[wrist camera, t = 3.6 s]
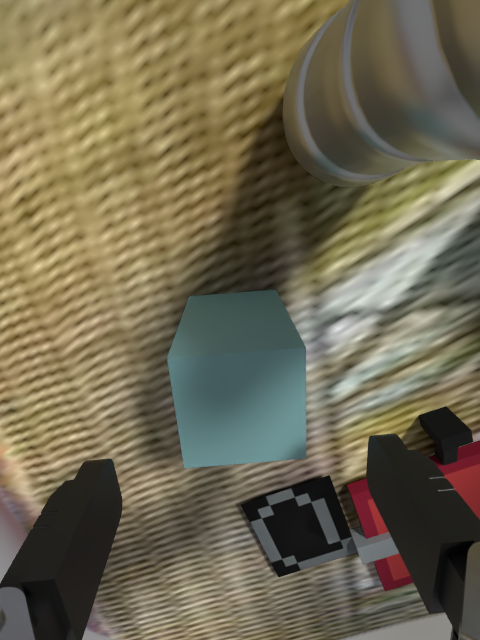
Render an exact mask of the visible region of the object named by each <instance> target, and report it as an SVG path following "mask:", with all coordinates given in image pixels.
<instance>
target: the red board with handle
mask: <svg viewBox="0 0 480 640" xmlns="http://www.w3.org/2000/svg"><path fill="white" fill-rule="evenodd" d="M419 419H420V423H421V426H422V428H423V429H424V430H425V431H426V432H427V433H428V435H429V436H430V437H431V438H432V439H433V440H434V442H435V456H432V457H429V459H431V460H432V461H433V462H434V463H435V464H436V465H437V467H438V468H439V469H440V470H441V472H442V473H443V474H444V475H445V478H446V479H448V480H449V482H450V483H451V484H452V486H453V487H454V490H455V491H457V492H458V493H459V494H460V496H461V497H462V498H463V499H464V501H465V502H466V503H467V504H468V506H469V507H470V508H471V510H472V511H473V512H474V513H475V515H476V516H477V517H478V518H479V520H480V441H478V442H474V443H471V442H473V438H472V432H471V430H470V429H469V428H468V427H467V426H466V425H465V424H464V423H463V422H462V421H461V420H460V419H459V418H458V417H457V416H456V415H455V414H454V413H453V412H452V411H451V410H449V409H448V408H447V407H443V408H440V409H437V410H433V411H430V412H427V413H424V414H421V415H419ZM468 443H471V444H468ZM465 444H468V445H465ZM462 445H465V446H462ZM459 446H462V447H459ZM458 447H459V448H458ZM347 487H348V490H349V493H350V495H351V498H352V501H353V504H354V507H355V510H356V512H357V515H358V518H359V521H360V524H361V527H358V528H354V529H351V530H350V529H349V527H348V524H347V521H346V519H345V516H344V513H343V511H342V508H341V505H340V502H339V500H338V497H337V494H336V492H335V489H334V486H333V484H332V481H331V478H330V476H326V477H323V478H320V479H317V480H314V481H311V482H308V483H305V484H302V485H299V486H296V487H293V488H290V489H287V490H284V491H281V492H278V493H275V494H272V495H269V496H266V497H263V498H260V499H257V500H254V501H251V502H248V503H245V504H242V505H241V506H242V508H243V510H244V512H245V514H246V516H247V518H248V520H249V522H250V524H251V525H252V527H253V529H254V531H255V533H256V535H257V537H258V539H259V541H260V543H261V545H262V547H263V548H264V550H265V552H266V554H267V556H268V558H269V560H270V562H271V564H272V566H273V568H274V570H275V571H276V573H277V575H278V577H281V576H284V575H288V574H291V573H294V572H297V571H300V570H304V569H307V568H310V567H313V566H316V565H319V564H323V563H326V562H329V561H332V560H335V559H339V558H342V557H345V556H348V555H351V554H355V553H359V556H360V559H361V561H362V564H366V563H370V562H373V561H374V563H375V566H376V569H377V572H378V575H379V577H380V580H381V583H382V585H383V587H384V590H385V591H387V590H390V589H394V588H397V587H400V586H404V585H407V584H410V583H413V580H412V578H411V576H410V574H409V572H408V570H407V568H406V566H405V564H404V562H403V560H402V558H401V556H400V553H399V551H398V549H397V547H396V545H395V543H394V541H393V539H392V537H391V535H390V533H389V531H388V529H387V527H386V525H385V523H384V521H383V519H382V517H381V515H380V513H379V511H378V509H377V507H376V505H375V503H374V501H373V499H372V497H371V494H370V492H369V488H368V484H367V478H365V479H362V480H359V481H356V482H353V483H350V484H347Z"/></svg>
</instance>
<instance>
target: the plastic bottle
mask: <svg viewBox="0 0 480 640" xmlns="http://www.w3.org/2000/svg"><path fill="white" fill-rule="evenodd" d="M283 124H284V131H285V137H286V140H287V142H288V145H289V148H290V150H291V152H292V154H293V155H294V157H295V159H296V160H297V161H298V163H299V164H300V165H301V166H302V167H303V168H304V169H305V170H306V171H307V172H308V173H310V174H311V175H313V176H314V177H316V178H317V179H319V180H320V181H323V182H325V183H328V184H330V185H334V186H340V187H361V186H364V185H368V184H372V183H375V182H378V181H380V180H383V179H385V178H388V177H390V176H392V175H394V174H396V173H398V172H400V171H402V170H403V169H405V168H407V167H410V166H414V165H417V164H420V163H423V162H427V161H444V160H463V159H475V160H480V0H350V1H349V2H348V3H347V5H346V6H344V7H343V8H342V9H340V10H339V11H338V12H337V13H335V14H334V15H333V16H332V17H331V18H329V19H328V20H327V21H326V22H325V23H324V24H323V25H322V26H321V27H320V28H319V29H318V30H317V31H316V32H315V33H314V34H313V36H312V37H311V38H310V39H309V40H308V42H307V43H306V44H305V45H304V46H303V48H302V49H301V51H300V53H299V55H298V56H297V58H296V60H295V62H294V63H293V66H292V68H291V71H290V74H289V76H288V79H287V82H286V87H285V92H284V97H283Z"/></svg>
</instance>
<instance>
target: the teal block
mask: <svg viewBox="0 0 480 640" xmlns="http://www.w3.org/2000/svg"><path fill="white" fill-rule="evenodd" d="M167 362H168V369H169V375H170V381H171V387H172V394H173V400H174V406H175V413H176V419H177V425H178V432H179V438H180V444H181V451H182V457H183V463H184V468H195V467H207V466H219V465H231V464H243V463H255V462H267V461H279V460H291V459H303V458H306V347H305V345H304V343H303V341H302V339H301V337H300V335H299V333H298V331H297V330H296V328H295V326H294V324H293V322H292V320H291V318H290V316H289V314H288V312H287V310H286V308H285V306H284V304H283V302H282V300H281V298H280V296H279V294H278V293H277V291H276V290H263V291H250V292H237V293H224V294H211V295H198V296H189V298H188V301H187V304H186V307H185V309H184V312H183V315H182V318H181V321H180V323H179V326H178V329H177V332H176V334H175V337H174V340H173V343H172V346H171V348H170V351H169V354H168V357H167Z"/></svg>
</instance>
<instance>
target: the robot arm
mask: <svg viewBox="0 0 480 640" xmlns="http://www.w3.org/2000/svg"><path fill="white" fill-rule="evenodd" d="M366 476H367V484H368V488H369V492H370V494H371V497H372V499H373V501H374V503H375V505H376V507H377V509H378V511H379V513H380V515H381V517H382V519H383V521H384V523H385V525H386V527H387V529H388V531H389V533H390V535H391V537H392V539H393V541H394V543H395V545H396V547H397V549H398V551H399V553H400V556H401V558H402V560H403V562H404V564H405V566H406V568H407V570H408V572H409V574H410V576H411V578H412V580H413V582H414V584H415V586H416V588H417V590H418V592H419V594H420V596H421V598H422V600H423V602H424V604H425V606H426V608H427V610H428V612H429V614H431V613H441V612H445V613H446V615H447V617H448V619H449V620H450V622H451V624H452V631H451V638H450V640H480V520H479V518H478V517H477V516H476V515H475V513H474V512H473V511H472V510H471V508H470V507H469V506H468V504H467V503H466V502H465V501H464V499H463V498H462V497H461V496H460V494H459V493H458V492H457V491H455V490H454V487H453V486H452V484H451V483H450V482H449V480H448V479H446V478H445V475H444V474H443V473H442V472H441V470H440V469H439V468H438V467H437V465H436V464H435V463H434V462H433V461H432V460H431V459H429V458H428V457H427V456H425V455H424V454H422V453H421V452H420V451H418V450H417V449H416V450H408V449H407V447H406V446H405V445H404V443H403V442H402V441H401V439H400V438H399V437H398V435H396V434H385V435H374V436H370V437H369V442H368V457H367V472H366ZM121 513H122V496H121V491H120V487H119V483H118V479H117V475H116V471H115V467H114V463H113V461H112V460H111V459H101V460H90V461H85V462H84V463H83V464H82V466H81V468H80V469H79V471H78V473H77V475H76V477H75V479H74V480H69V481H65V482H64V483H63V484H62V485H61V486H60V487H59V488H58V489H57V490H56V491H55V492H54V493H53V494H52V495H51V496H50V498H49V500H48V501H47V503H46V505H45V507H44V508H43V510H42V512H41V515H39V517H38V519H37V520H36V522H35V524H34V526H33V530H31V531H30V533H29V534H28V536H27V538H26V540H25V541H24V543H23V545H22V546H21V548H20V550H19V552H18V554H17V555H16V557H15V559H14V560H13V562H12V564H11V566H10V567H9V569H8V571H7V573H6V574H5V576H4V578H3V580H2V581H1V583H0V640H82V638H83V635H84V631H85V628H86V625H87V622H88V619H89V616H90V613H91V609H92V606H93V603H94V600H95V597H96V594H97V591H98V587H99V584H100V581H101V578H102V575H103V572H104V569H105V565H106V562H107V559H108V556H109V553H110V550H111V547H112V543H113V540H114V537H115V534H116V531H117V528H118V525H119V522H120V518H121Z"/></svg>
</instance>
